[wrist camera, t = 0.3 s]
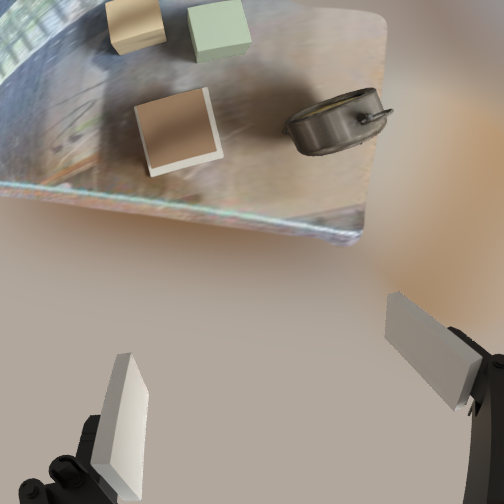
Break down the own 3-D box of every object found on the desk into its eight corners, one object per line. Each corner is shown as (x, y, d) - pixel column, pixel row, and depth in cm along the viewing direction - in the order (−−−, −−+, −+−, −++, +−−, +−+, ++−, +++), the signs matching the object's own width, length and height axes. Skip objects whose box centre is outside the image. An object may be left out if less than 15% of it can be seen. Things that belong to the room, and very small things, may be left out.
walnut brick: (143, 111, 34) (136, 106, 29) (200, 96, 34) (201, 88, 30) (156, 167, 36) (151, 169, 31) (213, 151, 37) (217, 151, 32)
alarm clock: (341, 93, 38) (416, 71, 22) (357, 129, 40) (437, 125, 24) (270, 124, 38) (319, 108, 22) (289, 162, 39) (347, 171, 24)
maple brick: (114, 18, 30) (105, 3, 25) (159, 4, 30) (155, -12, 25) (120, 55, 32) (111, 43, 27) (166, 42, 32) (163, 27, 27)
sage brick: (187, 23, 32) (187, 7, 27) (234, 15, 32) (240, -1, 28) (197, 63, 34) (197, 51, 29) (244, 54, 34) (252, 42, 30)
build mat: (134, 107, 34) (133, 106, 33) (207, 87, 35) (207, 86, 34) (151, 176, 37) (151, 177, 36) (223, 157, 38) (224, 157, 37)
